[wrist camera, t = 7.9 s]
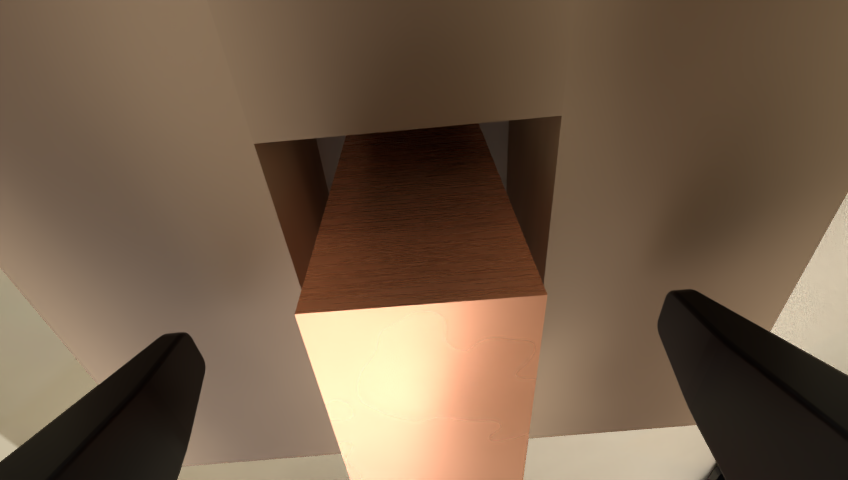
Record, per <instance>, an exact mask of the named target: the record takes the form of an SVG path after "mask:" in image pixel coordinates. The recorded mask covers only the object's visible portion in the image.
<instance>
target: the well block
mask: <svg viewBox="0 0 848 480" xmlns="http://www.w3.org/2000/svg"><path fill="white" fill-rule="evenodd" d="M476 123H479V126H480V128H481V131H482V133H483V136H484V138H485V141H486V143H487V146H488V148H489V150H490V153H491V155H492V158H493V160H494V163H495V165H496V168H497V170H498V173H499V175H500V178H501V180H502V183H503V185H504V188H505V190H506V193H507V195H508V198H509V200H510V203H511V205H512V208H513V210H514V213H515V215H516V218H517V220H518V223H519V225H520V228H521V230H522V233H523V235H524V238H525V240H526V243H527V245H528V248H529V250H530V253H531V255H532V257H533V260H534V262H535V265H536V267H537V270H538V272H539V275H540V277H541V280H542V282H543V285H544V287H545V290H546V292H547V303H546V310H545V318H544V325H543V333H542V340H541V348H540V355H539V363H538V370H537V378H536V385H535V393H534V400H533V408H532V415H531V423H530V430H529V438H540V437H553V436H565V435H577V434H590V433H602V432H615V431H627V430H639V429H652V428H664V427H676V426H689V425H697V424H696V422H695V420H694V418H693V416H692V414H691V412H690V410H689V408H688V406H687V404H686V401H685V399H684V397H683V394H682V392H681V389H680V387H679V384H678V382H677V379H676V376H675V374H674V371H673V369H672V366H671V364H670V361H669V359H668V356H667V354H666V351H665V349H664V346H663V344H662V341H661V339H660V336H659V333H658V329H657V322H658V318H659V315H660V312H661V309H662V306H663V303H664V300H665V297H666V295H667V293H668V292H670V291H672V290H682V289H693V290H696V291H698V292H700V293H702V294H703V295H705V296H707V297H709V298H711V299H712V300H714V301H716V302H718V303H719V304H721V305H723V306H725V307H727V308H728V309H730V310H732V311H734V312H735V313H737V314H739V315H741V316H743V317H744V318H746V319H748V320H750V321H752V322H753V323H755V324H757V325H759V326H760V327H762V328H764V329H766V330H768V331H769V332H770V331H771V329H772V327H773V325H774V324H775V322H776V320H777V318H778V316H779V315H780V313H781V311H782V309H783V307H784V306H785V304H786V302H787V300H788V298H789V297H790V295H791V293H792V291H793V289H794V288H795V286H796V284H797V282H798V280H799V279H800V277H801V275H802V273H803V272H804V270H805V268H806V266H807V264H808V263H809V261H810V259H811V257H812V255H813V254H814V252H815V250H816V248H817V246H818V245H819V243H820V241H821V239H822V237H823V236H824V234H825V232H826V230H827V228H828V227H829V225H830V223H831V221H832V219H833V218H834V216H835V214H836V212H837V211H838V209H839V207H840V205H841V203H842V202H843V200H844V198H845V196H846V194H847V193H848V0H0V268H1V269H2V271H3V272H4V273H5V274H6V275H7V276H8V278H9V279H10V280H11V281H12V282H13V284H14V285H15V286H16V287H17V288H18V290H19V291H20V292H21V293H22V294H23V296H24V297H25V298H26V299H27V300H28V302H29V303H30V304H31V305H32V306H33V308H34V309H35V310H36V311H37V312H38V314H39V315H40V316H41V317H42V318H43V320H44V321H45V322H46V323H47V324H48V326H49V327H50V328H51V329H52V330H53V332H54V333H55V334H56V335H57V336H58V338H59V339H60V340H61V341H62V342H63V344H64V345H65V346H66V347H67V348H68V350H69V351H70V352H71V353H72V354H73V356H74V357H75V358H76V359H77V360H78V362H79V363H80V364H81V365H82V366H83V368H84V369H85V370H86V371H87V372H88V373H89V375H90V376H91V377H92V378H93V379H94V381H95V382H96V383H97V384H98V385H99V384H100V383H101V382H103V381H104V380H105V379H107V378H108V377H109V376H110V375H112V374H113V373H114V372H115V371H117V370H118V369H119V368H121V367H122V366H123V365H124V364H126V363H127V362H128V361H129V360H131V359H132V358H133V357H135V356H136V355H137V354H138V353H140V352H141V351H142V350H143V349H145V348H146V347H147V346H149V345H150V344H151V343H152V342H154V341H155V340H156V339H157V338H159V337H160V336H162V335H164V334H167V333H177V332H186V333H188V334H189V335H190V336H191V337H192V339H193V341H194V342H195V344H196V346H197V348H198V349H199V351H200V353H201V355H202V356H203V358H204V361H205V366H206V369H205V376H204V380H203V384H202V389H201V393H200V397H199V402H198V406H197V410H196V415H195V419H194V424H193V428H192V432H191V437H190V441H189V444H188V448H187V452H186V455H185V458H184V461H183V464H182V466H194V465H207V464H219V463H231V462H244V461H256V460H268V459H281V458H293V457H306V456H318V455H330V454H341V451H340V448H339V445H338V442H337V439H336V436H335V433H334V430H333V427H332V424H331V421H330V418H329V415H328V412H327V409H326V406H325V403H324V400H323V397H322V394H321V391H320V388H319V385H318V382H317V379H316V376H315V373H314V371H313V368H312V365H311V362H310V359H309V356H308V353H307V350H306V347H305V344H304V341H303V338H302V335H301V332H300V329H299V326H298V323H297V320H296V317H295V311H296V308H297V304H298V301H299V297H300V294H301V290H302V287H303V283H304V280H305V276H306V273H307V269H308V266H309V262H310V259H311V255H312V252H313V249H314V245H315V242H316V238H317V235H318V231H319V228H320V224H321V221H322V217H323V214H324V210H325V207H326V203H327V200H328V196H329V193H330V190H331V186H332V183H333V179H334V176H335V172H336V169H337V165H338V162H339V158H340V155H341V151H342V148H343V144H344V141H345V137H346V135H356V134H367V133H378V132H389V131H400V130H411V129H422V128H433V127H443V126H454V125H465V124H476Z"/></svg>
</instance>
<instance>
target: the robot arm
mask: <svg viewBox="0 0 848 480" xmlns="http://www.w3.org/2000/svg"><path fill="white" fill-rule="evenodd" d="M657 329H658V333H659V336H660V339H661V341H662V344H663V346H664V349H665V351H666V354H667V356H668V359H669V361H670V364H671V366H672V369H673V371H674V374H675V376H676V379H677V382H678V384H679V387H680V389H681V392H682V394H683V397H684V399H685V401H686V404H687V406H688V408H689V410H690V412H691V414H692V416H693V418H694V420H695V422H696V424H697V426H698V428H699V430H700V432H701V434H702V436H703V438H704V439H705V441H706V443H707V445H708V447H709V449H710V451H711V453H712V455H713V457H714V458H715V460H716V462H717V464H718V466H717V467H715V468H714V470H713V471H712V473H711V475H710V476H709V478H708V480H848V375H846V374H844V373H843V372H841V371H839V370H837V369H835V368H834V367H832V366H830V365H828V364H826V363H825V362H823V361H821V360H819V359H818V358H816V357H814V356H812V355H810V354H809V353H807V352H805V351H803V350H801V349H800V348H798V347H796V346H794V345H793V344H791V343H789V342H787V341H785V340H784V339H782V338H780V337H778V336H777V335H775V334H773V333H771V332H769V331H768V330H766V329H764V328H762V327H760V326H759V325H757V324H755V323H753V322H752V321H750V320H748V319H746V318H744V317H743V316H741V315H739V314H737V313H735V312H734V311H732V310H730V309H728V308H727V307H725V306H723V305H721V304H719V303H718V302H716V301H714V300H712V299H711V298H709V297H707V296H705V295H703V294H702V293H700V292H698V291H696V290H693V289H682V290H672V291H670V292H668V293H667V295H666V297H665V300H664V303H663V306H662V309H661V312H660V315H659V318H658V322H657ZM205 369H206V366H205V361H204V358H203V356H202V355H201V353H200V351H199V349H198V348H197V346H196V344H195V342H194V341H193V339H192V337H191V336H190V335H189V334H188V333H186V332H177V333H167V334H164V335H162V336H160V337H159V338H157V339H156V340H155V341H154V342H152V343H151V344H150V345H149V346H147V347H146V348H145V349H143V350H142V351H141V352H140V353H138V354H137V355H136V356H135V357H133V358H132V359H131V360H129V361H128V362H127V363H126V364H124V365H123V366H122V367H121V368H119V369H118V370H117V371H115V372H114V373H113V374H112V375H110V376H109V377H108V378H107V379H105V380H104V381H103V382H101V383H100V384H99V385H98V386H96V387H95V388H94V389H93V390H91V391H90V392H89V393H87V394H86V395H85V396H84V397H82V398H81V399H80V400H79V401H77V402H76V403H75V404H73V405H72V406H71V407H70V408H68V409H67V410H66V411H65V412H63V413H62V414H61V415H59V416H58V417H57V418H56V419H54V420H53V421H52V422H51V423H49V424H48V425H47V426H45V427H44V428H43V429H42V430H40V431H39V432H38V433H36V434H35V435H34V436H33V437H31V438H30V439H29V440H28V441H26V442H25V443H24V444H22V445H21V446H20V447H19V448H17V449H16V450H15V451H14V452H12V453H11V454H10V455H9V456H7V457H6V458H5V459H3V460H2V461H1V462H0V480H177V479H178V476H179V473H180V470H181V467H182V464H183V461H184V458H185V455H186V452H187V448H188V444H189V441H190V437H191V432H192V428H193V424H194V419H195V415H196V410H197V406H198V402H199V397H200V393H201V389H202V384H203V380H204V376H205Z"/></svg>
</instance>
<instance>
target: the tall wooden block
mask: <svg viewBox="0 0 848 480" xmlns="http://www.w3.org/2000/svg"><path fill="white" fill-rule="evenodd" d="M546 303H547V292H546V290H545V287H544V285H543V282H542V280H541V277H540V275H539V272H538V270H537V267H536V265H535V262H534V260H533V257H532V255H531V253H530V250H529V248H528V245H527V243H526V240H525V238H524V235H523V233H522V230H521V228H520V225H519V223H518V220H517V218H516V215H515V213H514V210H513V208H512V205H511V203H510V200H509V198H508V195H507V193H506V190H505V188H504V185H503V183H502V180H501V178H500V175H499V173H498V170H497V168H496V165H495V163H494V160H493V158H492V155H491V153H490V150H489V148H488V146H487V143H486V141H485V138H484V136H483V133H482V131H481V128H480V126H479V123H476V124H465V125H454V126H443V127H433V128H422V129H411V130H400V131H389V132H378V133H367V134H356V135H346V137H345V141H344V144H343V148H342V151H341V155H340V158H339V162H338V165H337V169H336V172H335V176H334V179H333V183H332V186H331V190H330V193H329V196H328V200H327V203H326V207H325V210H324V214H323V217H322V221H321V224H320V228H319V231H318V235H317V238H316V242H315V245H314V249H313V252H312V255H311V259H310V262H309V266H308V269H307V273H306V276H305V280H304V283H303V287H302V290H301V294H300V297H299V301H298V304H297V308H296V311H295V317H296V320H297V323H298V326H299V329H300V332H301V335H302V338H303V341H304V344H305V347H306V350H307V353H308V356H309V359H310V362H311V365H312V368H313V371H314V373H315V376H316V379H317V382H318V385H319V388H320V391H321V394H322V397H323V400H324V403H325V406H326V409H327V412H328V415H329V418H330V421H331V424H332V427H333V430H334V433H335V436H336V439H337V442H338V445H339V448H340V451H341V454H342V457H343V460H344V462H345V465H346V468H347V471H348V474H349V477H350V480H523V475H524V468H525V460H526V453H527V445H528V438H529V430H530V423H531V415H532V408H533V400H534V393H535V385H536V378H537V370H538V363H539V355H540V348H541V340H542V333H543V325H544V318H545V310H546Z"/></svg>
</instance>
